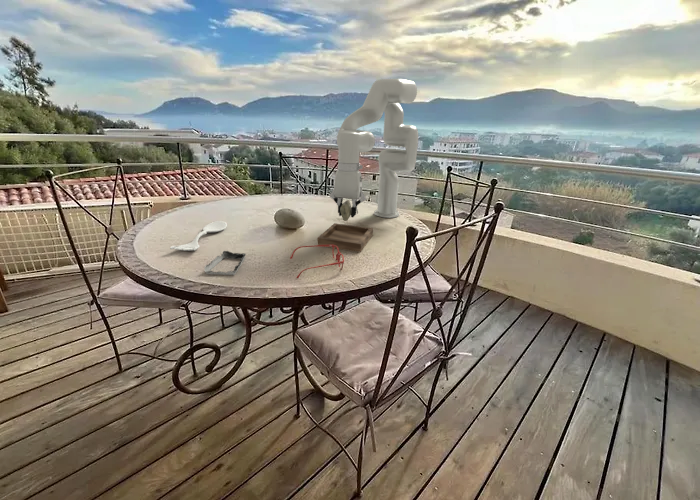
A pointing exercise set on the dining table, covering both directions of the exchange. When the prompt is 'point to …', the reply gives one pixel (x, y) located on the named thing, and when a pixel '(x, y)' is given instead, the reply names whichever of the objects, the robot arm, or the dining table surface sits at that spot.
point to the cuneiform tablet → (346, 210)
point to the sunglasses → (327, 264)
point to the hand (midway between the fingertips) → (347, 215)
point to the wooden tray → (346, 237)
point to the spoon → (209, 227)
